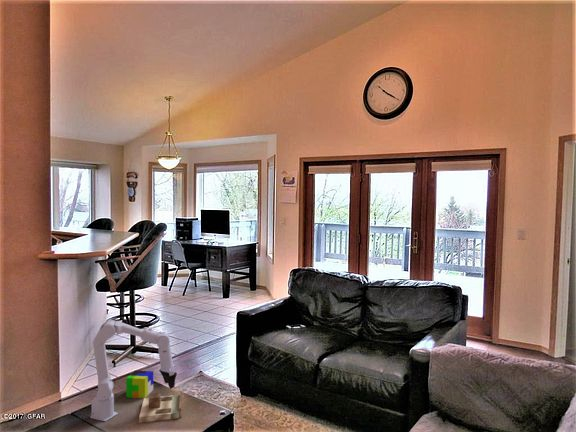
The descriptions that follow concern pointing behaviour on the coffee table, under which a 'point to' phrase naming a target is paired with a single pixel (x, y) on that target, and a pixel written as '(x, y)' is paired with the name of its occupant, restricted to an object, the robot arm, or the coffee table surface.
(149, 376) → the puzzle toy
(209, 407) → the coffee table surface
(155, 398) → the block
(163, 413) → the trap board
